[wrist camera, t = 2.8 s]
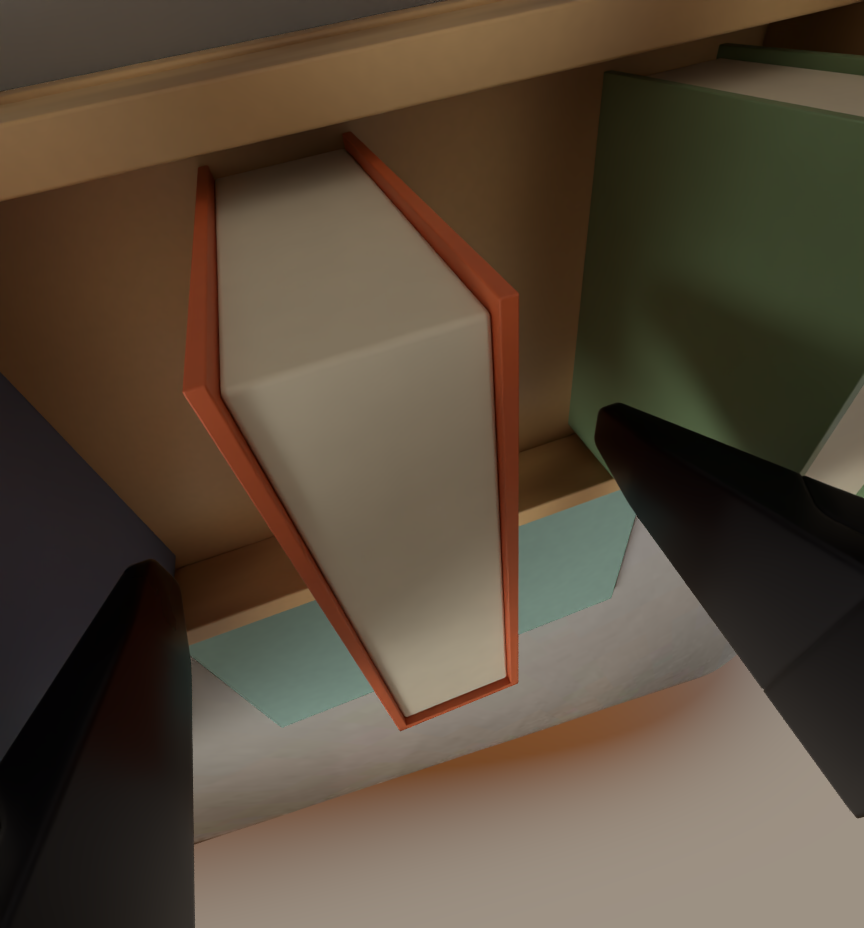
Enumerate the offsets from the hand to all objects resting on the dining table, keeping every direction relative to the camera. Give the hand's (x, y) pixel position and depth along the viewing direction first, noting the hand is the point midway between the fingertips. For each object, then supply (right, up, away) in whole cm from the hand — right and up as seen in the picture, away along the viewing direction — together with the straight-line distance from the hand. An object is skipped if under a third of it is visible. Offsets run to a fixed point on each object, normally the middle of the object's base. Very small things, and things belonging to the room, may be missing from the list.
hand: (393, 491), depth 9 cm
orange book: (-2, +3, +3) cm, 5 cm away
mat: (+1, -7, +16) cm, 17 cm away
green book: (+6, +6, +4) cm, 10 cm away
